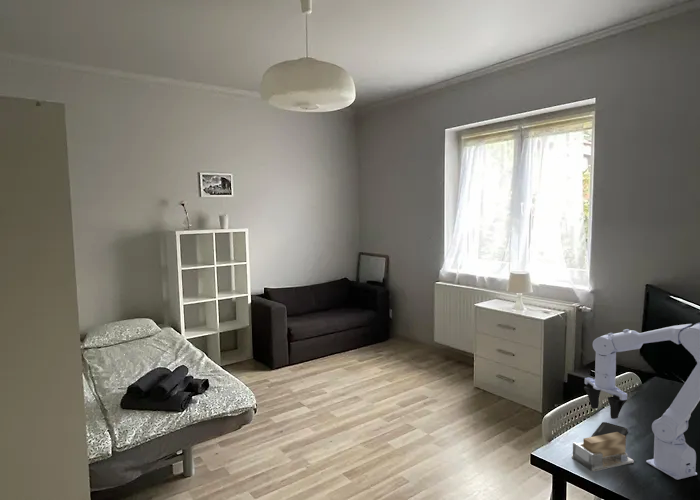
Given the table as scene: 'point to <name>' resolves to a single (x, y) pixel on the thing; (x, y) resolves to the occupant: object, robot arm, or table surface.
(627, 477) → the table surface
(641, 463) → the table surface
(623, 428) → the phone
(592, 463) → the bracket board
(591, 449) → the oak rail
